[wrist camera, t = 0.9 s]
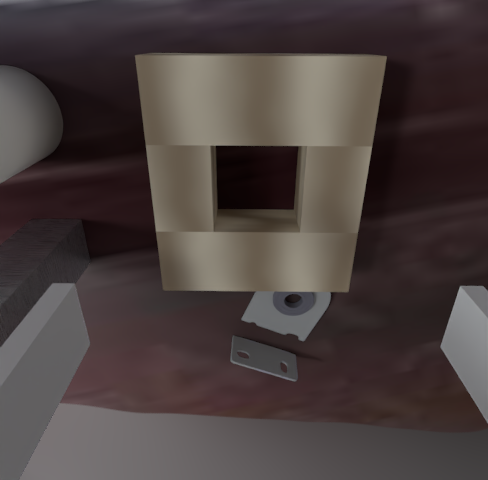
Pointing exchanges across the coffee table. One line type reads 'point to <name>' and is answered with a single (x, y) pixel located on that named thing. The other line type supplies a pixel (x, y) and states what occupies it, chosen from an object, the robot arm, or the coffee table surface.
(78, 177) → the coffee table surface
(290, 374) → the bracket
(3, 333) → the grey long block
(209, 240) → the socket block
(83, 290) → the coffee table surface
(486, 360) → the robot arm
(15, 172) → the plastic dowel
